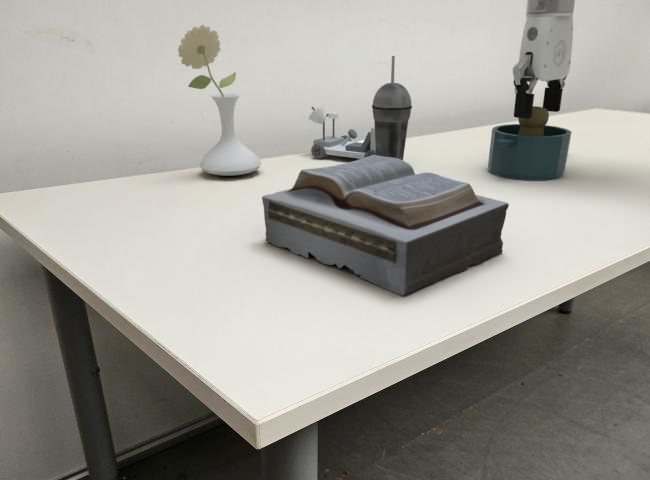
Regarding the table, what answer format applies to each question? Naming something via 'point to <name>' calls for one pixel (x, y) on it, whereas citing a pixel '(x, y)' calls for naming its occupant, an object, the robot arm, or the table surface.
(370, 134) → the toy car
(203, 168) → the flower in vase
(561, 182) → the table surface
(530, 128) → the cork
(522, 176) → the pot
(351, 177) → the bible
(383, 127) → the beverage cup
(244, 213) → the table surface
